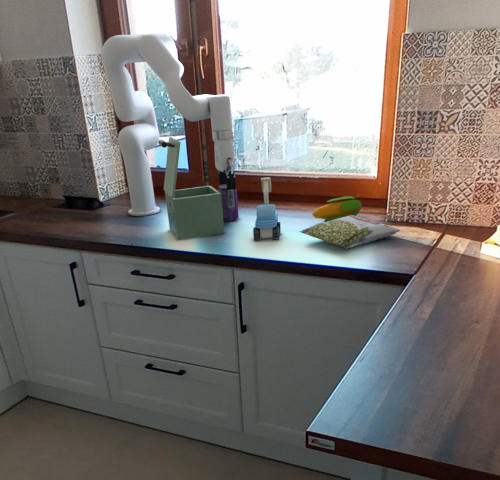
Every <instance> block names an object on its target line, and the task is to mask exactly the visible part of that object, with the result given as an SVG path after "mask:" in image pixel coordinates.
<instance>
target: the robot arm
mask: <svg viewBox="0 0 500 480" xmlns="http://www.w3.org/2000/svg"><path fill="white" fill-rule="evenodd" d="M101 48H102V49H101V63H102V67H103V70H104V73H105V76H106V78H107V83H108V86H109V92H110V95H111V100H112V103H113V107H114V108H113V109H114V112H115V114H116V117H117V118H118V120H120V121H121V122H125V123H126V122H127V123H128V122H134V121H135V124H131V125H127V126H125V127H123V128H122V129H121V130H119V132H118V135H117V142H118V147H119V149H120V152H121V156H122V159H123V164H124V170H125V175H126V181H127V187H128V193H129V198H130V207H131V208H130V209H128V210H127V213H128V215H130V216H134V217H146V216H151V215H155V214H158V213H159V212H160V211H161V207H159V206H157V205H156V199H155V192H154V184H153V177H152V170H151V164H150V160H149V158H148V157H147V154H146V151H149V150H152V149H155V148H156V147H157V146H158V145H159V143H158V142H159V140H160V131H159V127H158V122H157V121H158V120H157V116H156V111H155V108H154V103H153V101H152V99H151V97H150V96H149V95H148V93H146V92H145V91H142V90H135V88H134V82H133V79H132V75H131V73H130V72H129V70H128V68H127V67H126V66H125V65H126V64H135V63H146V64H147V66H149V68H150V69H151V70H152V71H153V72H154V73H155V75H157V77H158V78H159V79H160V80H161V82H163V84H164V85H165V90H166V94H167V97H168V99H169V101H170V103H171V105H172V106H173V107H174V109H176V111H177V112H178V113H179V114H180V115H181V116H182V117H183V118H184V119H185V120H187V121H189V122H193V123H194V122H199V121H204V120H209V119H210V124H211V125H210V126H211V135H212V141H213V143H214V144H213V145H214V146H213V148H214V149H213V150H214V165H215V166H214V167H215V170H217V172H218V183H219V186H220V185H224V184H227V190H233V189H236V190H237V183H236V173H235V172H236V171H235V169H236V162H235V161H236V160H235V150H234V144H233V141H234V140H235V129H234V115H233V104H232V103H233V102H232V97H231V96H230V95H229V94H216V95H215V94H206V93H205V94H198V95H192V94H191V93H190V92H189V91H188V89H186V87H185V85H183V81H182V80H181V79H182V77H183V74H184V73H185V72H184V71H185V67H184V65H183V63H181V62H180V61H179V59H178V58H177V57H176V53H177V52H176V51H177V48H176V43H175V41H174V40H173V38H172V37H171V36H170V35H168V34H167V33H162V32H160V33H158V32H157V33H147V34H116V35H114V36H111V37H109V38H107V39H106V40H105V42H104V43H103V46H102V47H101Z"/></svg>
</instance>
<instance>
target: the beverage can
mask: <svg viewBox="0 0 500 480" xmlns="http://www.w3.org/2000/svg"><path fill="white" fill-rule="evenodd" d="M217 191H218V192H220V193H221V198H222V211H223V222H234V221H236V220H237V219H239V217H240V214H239V202H238V200H239V199H238V190H237V188H236V189H233V190H227V184H224V185H220V184H219V185H218V189H217Z"/></svg>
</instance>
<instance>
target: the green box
mask: <svg viewBox="0 0 500 480" xmlns="http://www.w3.org/2000/svg"><path fill="white" fill-rule="evenodd" d="M164 196H165V204H166V212H167V221H168V226H169V227H168V228H169V231H170V232H171V234H172V235H173V236H174V237H175V239H176V240H177V241H185V240H192V239H198V238H204V237H205V238H206V237H210V236H211V237H212V236H218V235H224V234H225V226H224V223H225V222H224V221H223V211H222V198H221V193H220V192H218V189H216V188H215V187H213V186H211V185H205V186H197V187H191V188H190V187H189V188H181V189H175V196H174V198H172V197H171V196H170V195H168V194H167V193H166V192H165V191H164Z"/></svg>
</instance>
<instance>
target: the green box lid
mask: <svg viewBox="0 0 500 480" xmlns="http://www.w3.org/2000/svg"><path fill="white" fill-rule="evenodd" d="M181 143H182V142H181V141H179V140H178V139H175V138H173V137H172V136H169V137H168V142H167V141H165V140H163V139H159V142H158V146H160V147H162V148H163V149H165V148H167V151H166V152H167V153H166V163H165V171H164V181H163V191H164V193H165V192H166V193H167V194H168V195H170V196H171V197H172V198H174V196H175V190H176V187H177V186H176V185H177V176H178V170H179V169H178V168H179V159H180V153H181V152H180V150H181Z"/></svg>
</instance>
